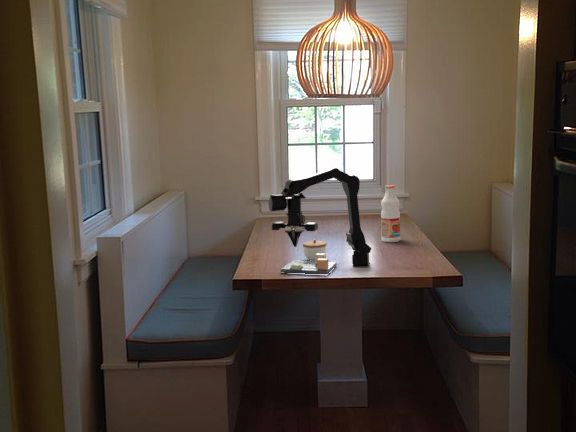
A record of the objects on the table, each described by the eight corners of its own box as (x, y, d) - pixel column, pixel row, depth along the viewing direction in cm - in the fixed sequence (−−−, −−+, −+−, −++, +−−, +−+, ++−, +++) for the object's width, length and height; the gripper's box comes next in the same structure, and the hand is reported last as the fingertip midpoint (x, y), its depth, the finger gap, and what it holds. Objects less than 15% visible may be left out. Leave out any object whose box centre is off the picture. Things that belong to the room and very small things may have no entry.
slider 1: (326, 262, 294) (325, 253, 293) (324, 264, 291) (324, 255, 290) (317, 262, 295) (316, 253, 295) (315, 263, 292) (314, 254, 292)
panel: (336, 266, 295) (336, 262, 295) (326, 275, 280) (326, 270, 280) (292, 264, 302) (292, 260, 301) (280, 273, 287) (280, 268, 286)
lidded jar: (312, 256, 317) (312, 236, 316) (331, 258, 310) (331, 238, 309) (298, 260, 309) (297, 240, 308) (317, 263, 302) (316, 242, 301)
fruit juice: (384, 238, 351) (383, 184, 347) (402, 239, 348) (401, 184, 343) (379, 242, 343) (378, 186, 338) (397, 242, 339) (397, 186, 335)
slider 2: (328, 267, 284) (328, 258, 284) (326, 269, 282) (326, 260, 281) (319, 267, 286) (318, 258, 285) (317, 269, 283) (316, 259, 282)
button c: (303, 270, 289) (303, 263, 288) (300, 273, 285) (299, 266, 284) (293, 270, 290) (293, 263, 290) (290, 272, 286) (289, 265, 286)
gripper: (321, 207, 288) (322, 243, 290) (279, 206, 294) (280, 241, 296) (313, 211, 277) (314, 248, 280) (270, 210, 283) (271, 247, 286)
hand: (295, 246), depth 286 cm, fingers closed
